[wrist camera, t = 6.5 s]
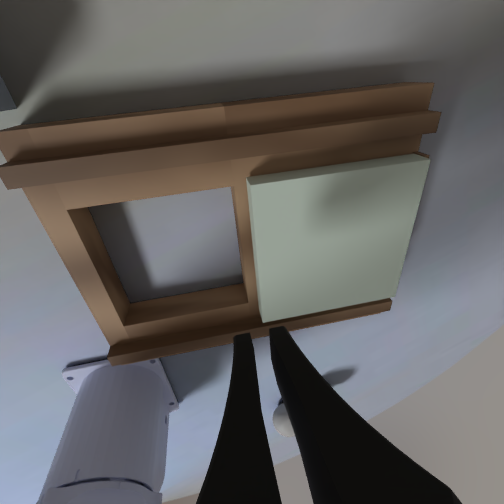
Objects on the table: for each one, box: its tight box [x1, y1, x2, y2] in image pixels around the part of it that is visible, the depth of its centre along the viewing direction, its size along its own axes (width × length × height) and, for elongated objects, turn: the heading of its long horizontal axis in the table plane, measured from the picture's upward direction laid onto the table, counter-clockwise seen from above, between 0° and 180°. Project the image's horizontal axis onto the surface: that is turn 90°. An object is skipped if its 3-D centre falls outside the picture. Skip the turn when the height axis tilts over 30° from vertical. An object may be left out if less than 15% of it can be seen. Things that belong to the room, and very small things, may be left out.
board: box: [0, 82, 441, 366], centre depth 19 cm, size 17×22×3 cm
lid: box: [246, 154, 431, 323], centre depth 18 cm, size 10×10×1 cm
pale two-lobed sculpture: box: [273, 403, 295, 437], centre depth 32 cm, size 4×8×5 cm
